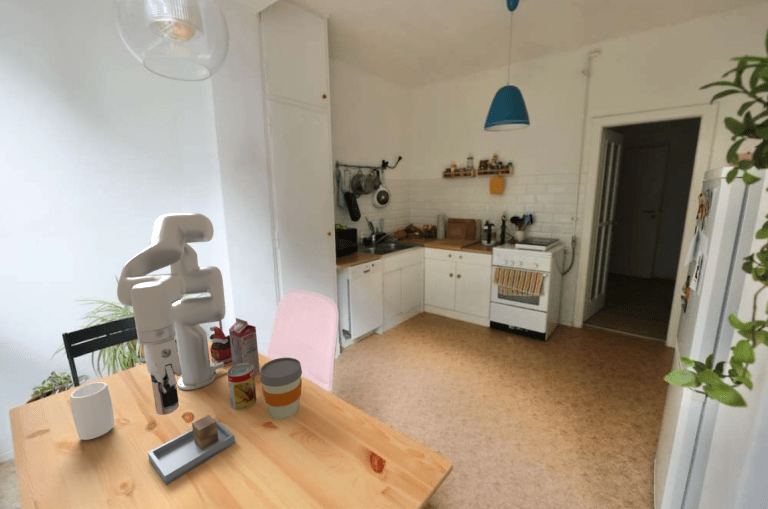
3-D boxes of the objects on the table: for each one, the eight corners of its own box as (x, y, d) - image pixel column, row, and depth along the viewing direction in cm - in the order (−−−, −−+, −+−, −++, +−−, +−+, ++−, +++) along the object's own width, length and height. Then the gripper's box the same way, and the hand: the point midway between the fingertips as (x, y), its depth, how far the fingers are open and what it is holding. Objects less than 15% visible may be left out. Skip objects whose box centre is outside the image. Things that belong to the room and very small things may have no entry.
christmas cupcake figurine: (242, 355, 142) (238, 315, 139) (228, 366, 133) (223, 324, 130) (221, 352, 144) (216, 313, 141) (205, 363, 136) (200, 321, 132)
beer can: (168, 417, 81) (161, 372, 79) (151, 415, 82) (144, 370, 80) (183, 405, 85) (177, 362, 83) (168, 403, 86) (161, 360, 84)
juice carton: (244, 379, 123) (239, 324, 119) (233, 374, 127) (228, 320, 122) (259, 371, 129) (254, 318, 124) (248, 367, 132) (243, 315, 128)
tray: (215, 424, 100) (214, 417, 99) (235, 443, 92) (234, 435, 92) (149, 460, 87) (147, 452, 86) (166, 485, 79) (164, 476, 79)
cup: (123, 427, 99) (115, 384, 96) (90, 447, 91) (81, 401, 89) (103, 421, 102) (95, 379, 99) (71, 440, 94) (61, 395, 91)
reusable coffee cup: (265, 428, 98) (261, 382, 95) (261, 403, 109) (258, 362, 106) (307, 416, 103) (305, 372, 100) (300, 394, 114) (297, 353, 111)
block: (211, 433, 95) (208, 414, 94) (218, 440, 92) (216, 421, 91) (194, 442, 92) (191, 423, 90) (201, 450, 89) (199, 430, 88)
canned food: (260, 401, 110) (257, 368, 108) (237, 413, 105) (233, 378, 102) (249, 392, 116) (246, 360, 113) (226, 402, 110) (223, 369, 108)
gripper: (187, 336, 77) (197, 406, 81) (162, 319, 88) (171, 382, 91) (150, 348, 72) (161, 422, 75) (127, 328, 82) (138, 395, 86)
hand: (166, 399), depth 83 cm, fingers closed on beer can, 4 cm apart
